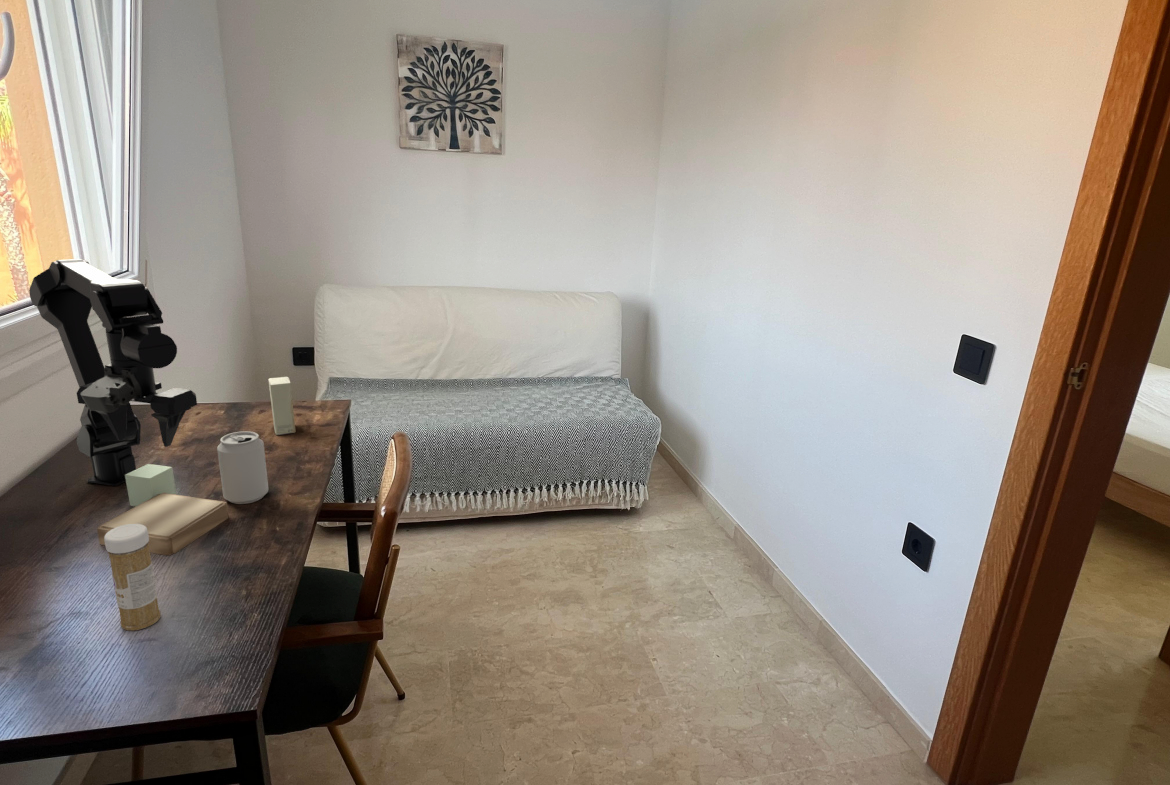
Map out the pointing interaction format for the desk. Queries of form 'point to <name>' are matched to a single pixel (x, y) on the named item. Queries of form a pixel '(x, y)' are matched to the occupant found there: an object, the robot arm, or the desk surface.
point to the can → (242, 467)
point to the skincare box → (282, 405)
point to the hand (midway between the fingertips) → (144, 443)
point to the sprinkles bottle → (133, 576)
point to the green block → (149, 483)
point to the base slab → (171, 520)
